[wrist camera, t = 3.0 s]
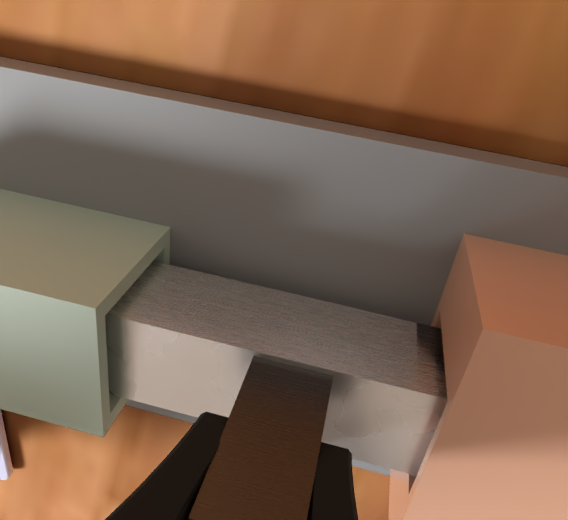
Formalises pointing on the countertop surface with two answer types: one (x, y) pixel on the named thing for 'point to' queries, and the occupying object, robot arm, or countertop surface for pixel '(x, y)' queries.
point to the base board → (273, 189)
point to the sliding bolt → (275, 383)
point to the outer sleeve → (65, 305)
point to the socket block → (497, 392)
